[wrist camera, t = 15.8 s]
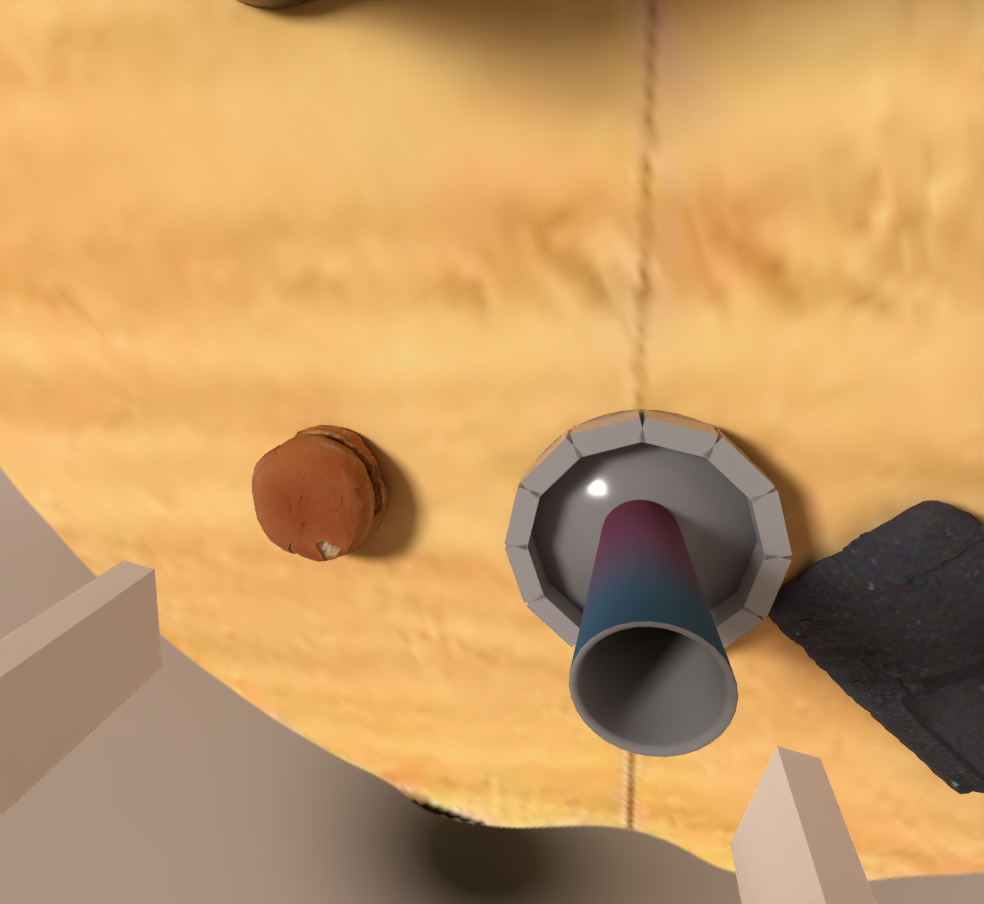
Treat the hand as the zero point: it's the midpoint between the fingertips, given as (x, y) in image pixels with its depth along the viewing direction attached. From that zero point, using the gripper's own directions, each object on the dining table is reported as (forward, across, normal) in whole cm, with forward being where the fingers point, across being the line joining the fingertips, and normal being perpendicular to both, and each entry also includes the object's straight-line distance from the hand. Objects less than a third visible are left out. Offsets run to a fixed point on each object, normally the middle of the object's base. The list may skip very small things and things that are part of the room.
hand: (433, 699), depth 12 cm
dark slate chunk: (+27, +29, -11) cm, 41 cm away
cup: (+26, +7, -8) cm, 28 cm away
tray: (+27, +7, -8) cm, 29 cm away
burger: (+27, -15, -11) cm, 33 cm away
